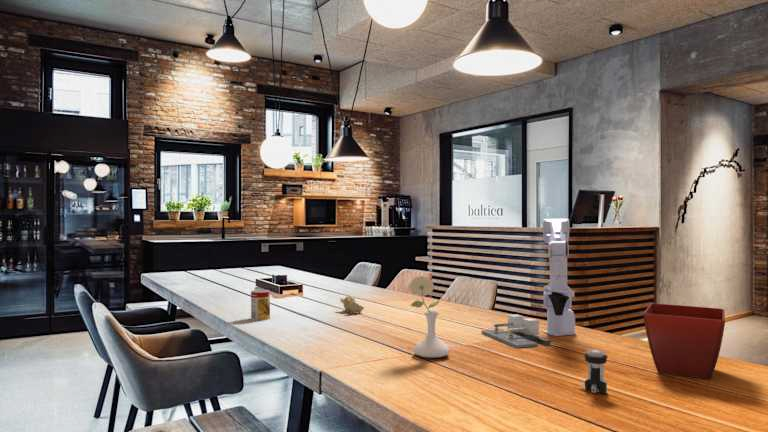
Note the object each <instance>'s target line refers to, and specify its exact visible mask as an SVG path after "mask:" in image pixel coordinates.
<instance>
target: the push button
mask: <svg viewBox="0 0 768 432" xmlns="http://www.w3.org/2000/svg"><path fill="white" fill-rule="evenodd" d="M584 359H585V362H587V364H588V365H587V366H588V367H587V371H588V372H587V374H588V375H587V379H585V381H584V382H583V381H579V384H583V385H579V387H580V388H584V389H585V391H587V392H590V393H595V394H600V395H601V396H602V395H605V394H607V392H608V383H607V381H606V380H605V377H604V375H605V374H604V373H605V372H604V370H605V369H604V365H605V364H606V363H607V360H608V355H607V354H604V351H603V350H600V349H588V350H587V352H586V353H584Z"/></svg>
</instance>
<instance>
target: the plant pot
mask: <svg viewBox="0 0 768 432" xmlns="http://www.w3.org/2000/svg"><path fill="white" fill-rule="evenodd" d="M725 313H726V312H725V309H724V308H719V307H718V308H717V307H706V306H694V305H693V306H692V305H691V306H690V305H682V304H679V305H678V304H669V303H666V304H665V303H656V302H654V303H650V304H649V305H648V307H646V308H645V310H644V311H643V321H644V327H645V332H646V337H647V343H648V346H649V349H650V353H651V356H652V360H653V363H654V366H655V369H656V370H657V373H663V374H669V375H676V376H685V377H692V378H697V379H698V378H699V379H707V380H709V379H712V377H713V375H714V372H715V368H716V366H717V362H718V360H719V356H720V352H721V348H722V342H723V337H724V331H725V325H726V316H725Z"/></svg>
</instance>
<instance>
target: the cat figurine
mask: <svg viewBox="0 0 768 432" xmlns="http://www.w3.org/2000/svg"><path fill="white" fill-rule="evenodd" d="M340 302H341V303H342V305H343V308H344V311H345V312H346V313H348V314H350V313H352V314H353V313H354V314H358V313H359V314H360V313H362V311H363V310H364V309H365V307H364V306H362V305H360V304H359V303H357V302H356V298H355V297H354V296H352V295H349V296H345V298H340Z"/></svg>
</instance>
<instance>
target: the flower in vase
mask: <svg viewBox="0 0 768 432" xmlns="http://www.w3.org/2000/svg"><path fill="white" fill-rule="evenodd" d="M408 288H409V290H410V293H411V294H412V295H414V296H416V295H417V296H418V297H421V299H422V301H421V300H415V301H413V302H411V304H410V307H415V308H422V307H423V305H424V306H425V309H426V310H425V311H423V313H422V314H424V315H425V318H426V322H427V333H426V336H425V337H424V338H423V339H422V340H421V341H420V342H419V343H418V342H417V344H416V345H415V346H414V348H413V352H414V354H415V355H417V356H419V357H423V358H429V359H430V358H431V359H437V358H441V357H442V358H443V357H445V356H448V355H449V353H450V351H451V350H450V348H449V347H448V345H447V344H446V343H444V342H443V341H442V340H441V339H440V338H439V337H438V336H437V334H436V320H437V317H438V316H439V314H440V311H438V310H430V308H434V307H436V306H437V305H438V304H439V302H440V300H439V299H438V300H437V301H434V302H432V303H430V304H429V305H428V306H427V305H426V303H425V300H424V297H425V296H427V295H431V294H432V292H433V291H434V289H435V285H434V282H433V280H432V279H431V278H428V276H424V275H421V276H419V275H418V276H416V277H415V278H413V279H411V282H410V283H409V285H408Z"/></svg>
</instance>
